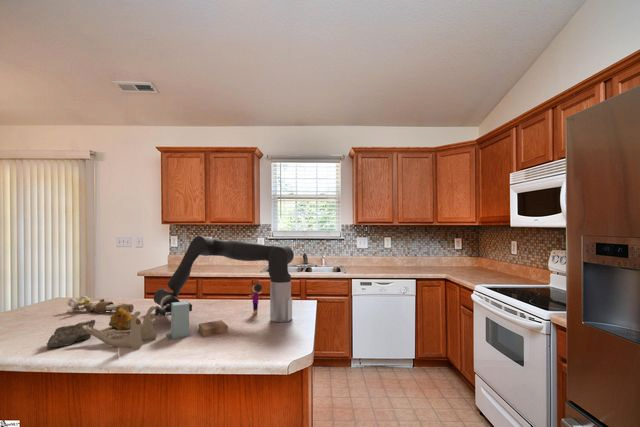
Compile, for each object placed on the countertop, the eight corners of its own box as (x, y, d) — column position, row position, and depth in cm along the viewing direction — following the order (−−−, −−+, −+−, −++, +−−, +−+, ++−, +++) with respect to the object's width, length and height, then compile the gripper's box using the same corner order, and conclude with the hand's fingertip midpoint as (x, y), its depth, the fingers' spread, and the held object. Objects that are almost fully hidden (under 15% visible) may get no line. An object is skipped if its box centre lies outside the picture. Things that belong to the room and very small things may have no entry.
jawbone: (158, 339, 124) (156, 303, 123) (141, 352, 114) (139, 312, 113) (95, 339, 126) (93, 303, 125) (74, 351, 116) (71, 313, 115)
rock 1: (82, 321, 131) (101, 316, 129) (84, 339, 130) (104, 334, 128) (34, 333, 115) (55, 328, 112) (36, 353, 114) (58, 348, 112)
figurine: (145, 308, 174) (92, 305, 178) (145, 295, 175) (93, 292, 178) (111, 321, 150) (51, 317, 154) (111, 306, 150) (51, 302, 154)
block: (186, 331, 131) (186, 301, 132) (188, 335, 127) (189, 303, 127) (170, 334, 129) (171, 302, 129) (173, 338, 124) (173, 305, 124)
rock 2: (133, 333, 143) (147, 318, 142) (119, 343, 135) (134, 327, 133) (114, 316, 143) (127, 300, 142) (99, 325, 135) (113, 308, 133)
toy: (258, 311, 165) (259, 280, 166) (268, 312, 163) (268, 281, 163) (245, 316, 156) (245, 284, 156) (254, 317, 153) (255, 284, 154)
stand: (221, 327, 138) (221, 320, 139) (227, 333, 131) (227, 325, 131) (198, 331, 134) (198, 323, 134) (204, 337, 126) (204, 329, 126)
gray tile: (189, 330, 134) (189, 329, 134) (194, 337, 126) (194, 336, 126) (165, 334, 129) (165, 333, 129) (168, 341, 121) (168, 340, 122)
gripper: (152, 298, 146) (157, 305, 132) (187, 294, 154) (194, 301, 140) (152, 315, 146) (156, 324, 132) (187, 310, 153) (194, 319, 139)
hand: (176, 312), depth 136 cm, fingers open, 8 cm apart
